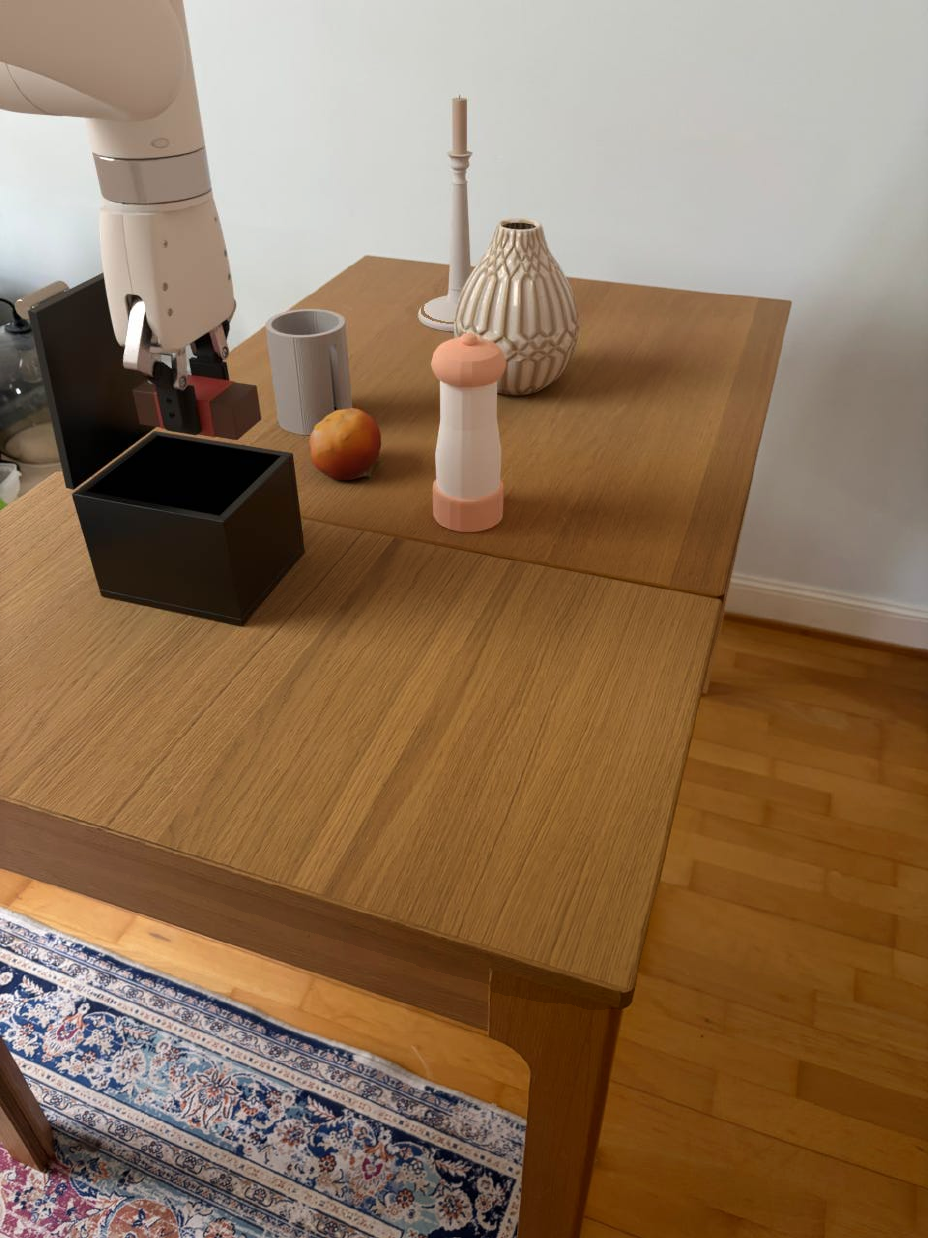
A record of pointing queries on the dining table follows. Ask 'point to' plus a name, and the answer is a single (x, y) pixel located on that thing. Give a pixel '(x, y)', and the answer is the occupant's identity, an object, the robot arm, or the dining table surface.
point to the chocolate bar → (208, 406)
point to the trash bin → (193, 525)
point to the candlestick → (455, 226)
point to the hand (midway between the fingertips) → (199, 416)
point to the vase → (521, 307)
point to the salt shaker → (468, 435)
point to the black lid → (83, 376)
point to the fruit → (345, 444)
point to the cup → (308, 367)
